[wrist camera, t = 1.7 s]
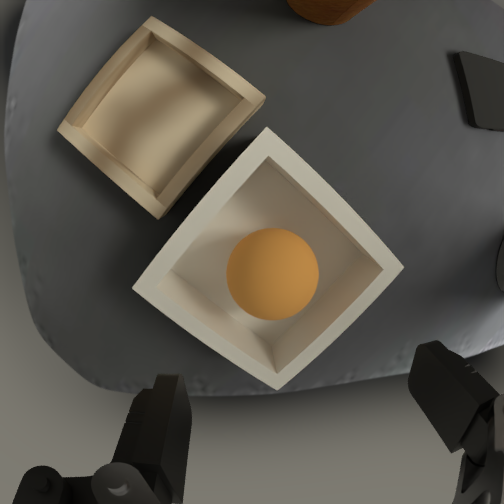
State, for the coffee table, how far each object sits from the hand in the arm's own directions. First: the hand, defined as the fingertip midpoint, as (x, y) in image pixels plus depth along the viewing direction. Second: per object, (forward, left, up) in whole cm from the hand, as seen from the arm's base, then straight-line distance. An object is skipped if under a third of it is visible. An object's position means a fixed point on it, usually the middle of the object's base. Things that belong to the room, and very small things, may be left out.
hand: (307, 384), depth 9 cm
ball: (0, 0, -11) cm, 11 cm away
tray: (+13, -3, -15) cm, 20 cm away
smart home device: (-10, -33, -16) cm, 38 cm away
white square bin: (0, 0, -15) cm, 15 cm away
